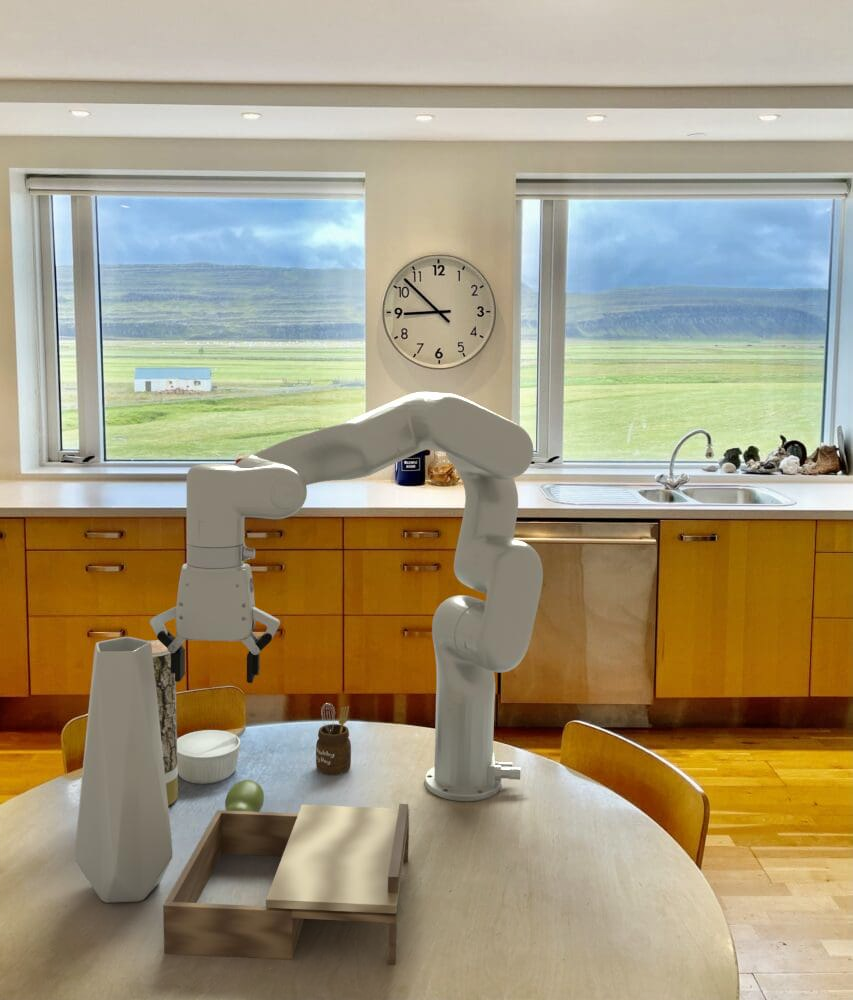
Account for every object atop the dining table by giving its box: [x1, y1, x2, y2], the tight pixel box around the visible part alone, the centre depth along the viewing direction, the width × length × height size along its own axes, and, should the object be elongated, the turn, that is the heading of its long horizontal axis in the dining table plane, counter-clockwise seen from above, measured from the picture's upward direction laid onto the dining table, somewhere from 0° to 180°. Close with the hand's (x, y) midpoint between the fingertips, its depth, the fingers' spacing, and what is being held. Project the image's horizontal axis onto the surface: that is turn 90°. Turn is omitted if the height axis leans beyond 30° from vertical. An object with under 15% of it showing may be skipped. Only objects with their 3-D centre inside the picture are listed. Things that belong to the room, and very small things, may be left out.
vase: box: [74, 636, 174, 904], centre depth 117 cm, size 12×12×33 cm
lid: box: [265, 803, 410, 914], centre depth 116 cm, size 15×23×3 cm, turn 177°
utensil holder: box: [315, 702, 352, 776], centre depth 155 cm, size 6×6×12 cm
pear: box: [224, 779, 265, 812], centre depth 137 cm, size 6×5×10 cm
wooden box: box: [162, 809, 410, 965], centre depth 117 cm, size 27×23×6 cm
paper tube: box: [147, 639, 179, 807], centre depth 142 cm, size 7×7×25 cm
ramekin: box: [177, 729, 242, 785], centre depth 154 cm, size 11×11×5 cm
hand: (215, 679), depth 125 cm, fingers open, 9 cm apart
